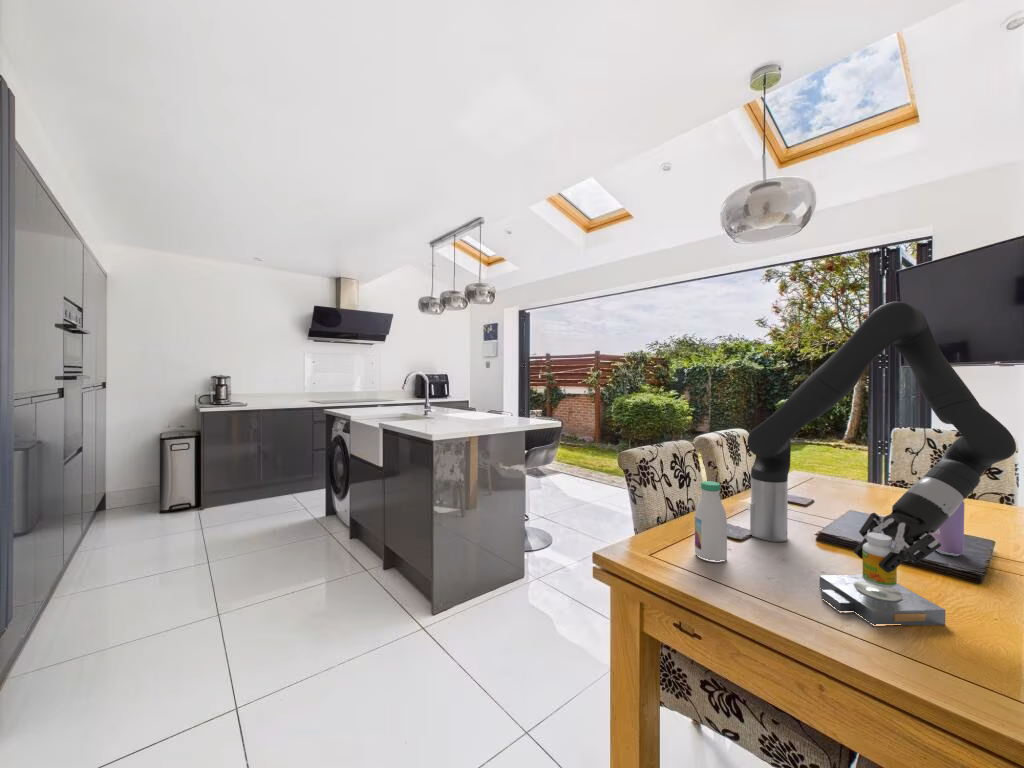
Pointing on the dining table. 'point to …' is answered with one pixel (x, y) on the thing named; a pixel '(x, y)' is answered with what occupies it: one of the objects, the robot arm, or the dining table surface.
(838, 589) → the grey coaster with tab
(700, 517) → the milk bottle
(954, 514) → the beverage can
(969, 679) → the dining table surface
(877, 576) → the supplement bottle
